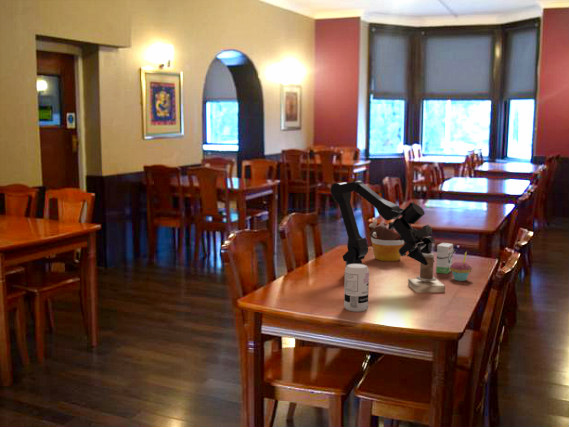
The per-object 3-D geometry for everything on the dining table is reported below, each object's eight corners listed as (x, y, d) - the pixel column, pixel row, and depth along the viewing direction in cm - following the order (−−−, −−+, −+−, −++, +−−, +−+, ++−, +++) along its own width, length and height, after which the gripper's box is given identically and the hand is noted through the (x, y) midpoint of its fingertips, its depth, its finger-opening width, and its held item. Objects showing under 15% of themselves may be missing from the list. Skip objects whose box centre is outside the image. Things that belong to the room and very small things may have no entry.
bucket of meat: (364, 261, 291) (365, 218, 288) (370, 254, 307) (372, 213, 304) (408, 264, 285) (409, 220, 282) (412, 257, 300) (414, 215, 297)
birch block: (416, 293, 239) (416, 285, 238) (408, 286, 250) (408, 278, 249) (444, 293, 240) (445, 285, 239) (435, 285, 251) (435, 278, 250)
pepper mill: (424, 282, 241) (425, 256, 239) (416, 278, 245) (417, 253, 244) (436, 280, 243) (437, 255, 241) (427, 277, 248) (428, 252, 246)
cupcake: (471, 278, 261) (472, 249, 260) (470, 282, 253) (471, 253, 252) (450, 276, 264) (451, 247, 262) (448, 281, 256) (449, 251, 254)
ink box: (447, 274, 267) (448, 246, 266) (435, 272, 270) (436, 245, 268) (452, 270, 275) (453, 243, 273) (441, 268, 277) (442, 242, 276)
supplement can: (341, 305, 221) (342, 263, 219) (365, 305, 222) (366, 263, 220) (346, 312, 213) (347, 268, 211) (370, 312, 214) (371, 268, 212)
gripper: (407, 221, 236) (432, 254, 231) (431, 216, 250) (455, 247, 245) (388, 239, 242) (412, 272, 237) (412, 233, 256) (436, 264, 251)
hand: (430, 263), depth 242 cm, fingers closed on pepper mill, 5 cm apart
